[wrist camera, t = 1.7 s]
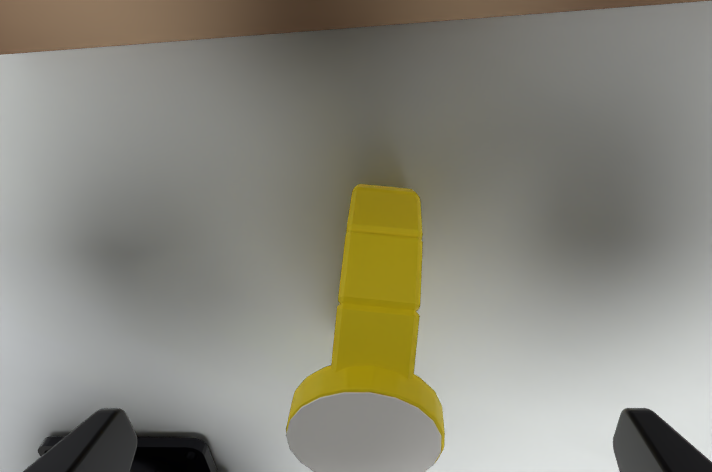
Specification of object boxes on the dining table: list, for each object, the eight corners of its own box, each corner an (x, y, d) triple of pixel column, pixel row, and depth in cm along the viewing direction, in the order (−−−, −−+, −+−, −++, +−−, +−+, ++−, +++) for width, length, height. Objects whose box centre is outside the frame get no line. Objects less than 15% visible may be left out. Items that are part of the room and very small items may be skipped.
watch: (412, 326, 15) (417, 535, 10) (323, 317, 15) (287, 520, 10) (447, 151, 11) (480, 344, 7) (330, 140, 12) (281, 323, 7)
